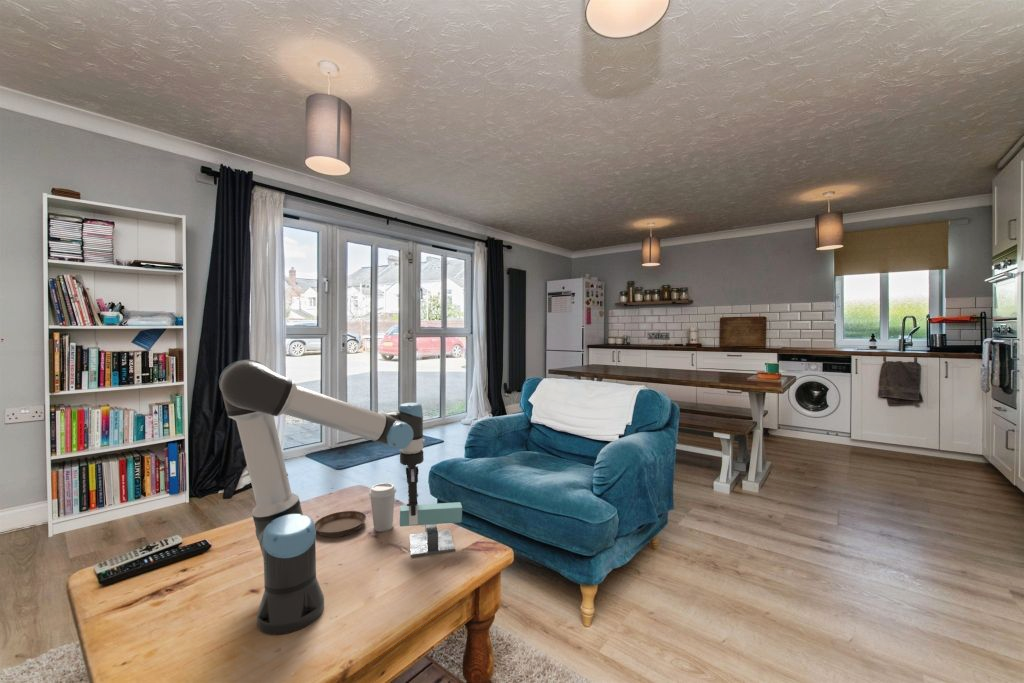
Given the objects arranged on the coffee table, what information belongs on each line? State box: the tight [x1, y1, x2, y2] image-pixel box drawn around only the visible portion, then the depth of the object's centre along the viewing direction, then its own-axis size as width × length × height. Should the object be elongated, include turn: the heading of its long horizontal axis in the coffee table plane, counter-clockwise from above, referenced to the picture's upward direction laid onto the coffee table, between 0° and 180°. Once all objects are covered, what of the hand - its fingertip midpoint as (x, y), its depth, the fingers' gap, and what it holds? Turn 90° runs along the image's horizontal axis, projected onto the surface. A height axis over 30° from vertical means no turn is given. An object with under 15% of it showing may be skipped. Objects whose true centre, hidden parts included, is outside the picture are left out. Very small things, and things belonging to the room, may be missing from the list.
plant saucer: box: [314, 510, 367, 538], centre depth 158 cm, size 18×18×3 cm
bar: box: [399, 501, 463, 527], centre depth 144 cm, size 4×20×5 cm, turn 105°
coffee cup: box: [368, 482, 397, 533], centre depth 158 cm, size 10×10×15 cm
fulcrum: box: [409, 524, 456, 558], centre depth 145 cm, size 14×14×6 cm
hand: (413, 520), depth 143 cm, fingers closed on bar, 4 cm apart
